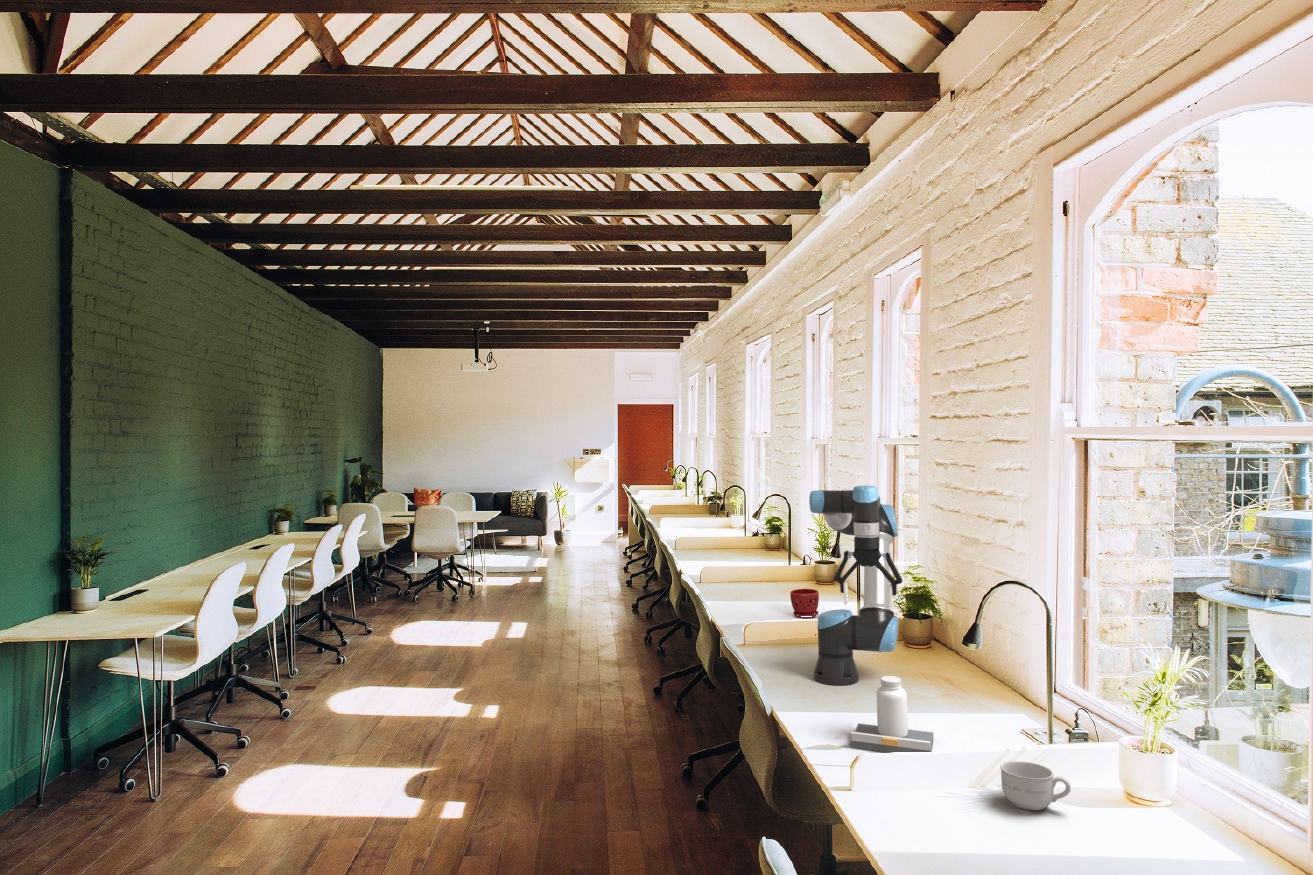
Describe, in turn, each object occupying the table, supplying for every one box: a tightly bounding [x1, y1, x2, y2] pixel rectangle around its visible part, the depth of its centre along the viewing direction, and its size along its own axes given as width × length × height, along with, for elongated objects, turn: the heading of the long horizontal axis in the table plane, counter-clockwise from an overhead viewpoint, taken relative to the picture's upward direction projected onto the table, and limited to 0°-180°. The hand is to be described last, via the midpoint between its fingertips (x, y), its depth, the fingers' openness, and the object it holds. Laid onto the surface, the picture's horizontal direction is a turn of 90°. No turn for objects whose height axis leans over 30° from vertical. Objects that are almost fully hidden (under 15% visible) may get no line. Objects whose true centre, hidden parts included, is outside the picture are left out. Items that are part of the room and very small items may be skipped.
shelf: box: [850, 722, 934, 753], centre depth 203 cm, size 14×20×4 cm
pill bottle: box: [876, 675, 909, 738], centre depth 205 cm, size 8×8×15 cm
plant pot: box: [789, 588, 820, 619], centre depth 353 cm, size 13×13×12 cm
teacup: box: [999, 760, 1072, 811], centre depth 167 cm, size 14×11×8 cm
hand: (868, 604), depth 231 cm, fingers open, 13 cm apart
